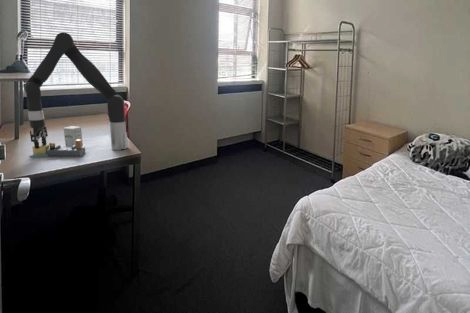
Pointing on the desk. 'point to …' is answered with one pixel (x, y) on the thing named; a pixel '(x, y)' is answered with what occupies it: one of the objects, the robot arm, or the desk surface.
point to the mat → (38, 156)
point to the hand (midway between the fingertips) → (41, 146)
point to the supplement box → (72, 135)
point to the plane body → (66, 150)
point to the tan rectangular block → (40, 150)
